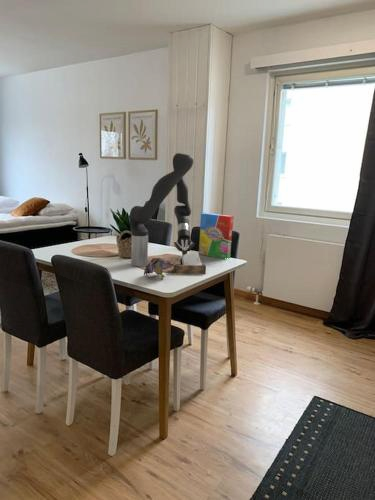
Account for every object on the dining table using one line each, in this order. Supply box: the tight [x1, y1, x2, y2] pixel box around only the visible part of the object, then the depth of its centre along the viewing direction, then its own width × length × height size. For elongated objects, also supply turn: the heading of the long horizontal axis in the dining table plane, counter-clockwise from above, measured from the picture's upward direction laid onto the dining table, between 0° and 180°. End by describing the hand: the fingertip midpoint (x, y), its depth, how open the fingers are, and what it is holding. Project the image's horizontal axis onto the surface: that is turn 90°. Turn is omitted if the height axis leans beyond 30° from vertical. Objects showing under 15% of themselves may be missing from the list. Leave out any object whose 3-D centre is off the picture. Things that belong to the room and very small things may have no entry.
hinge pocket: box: [172, 261, 207, 275], centre depth 201 cm, size 17×7×4 cm, turn 96°
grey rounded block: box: [178, 252, 202, 265], centre depth 207 cm, size 17×5×10 cm, turn 145°
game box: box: [198, 212, 234, 260], centre depth 238 cm, size 21×6×27 cm, turn 60°
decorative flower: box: [143, 257, 173, 280], centre depth 187 cm, size 14×12×15 cm
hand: (184, 256), depth 216 cm, fingers closed
